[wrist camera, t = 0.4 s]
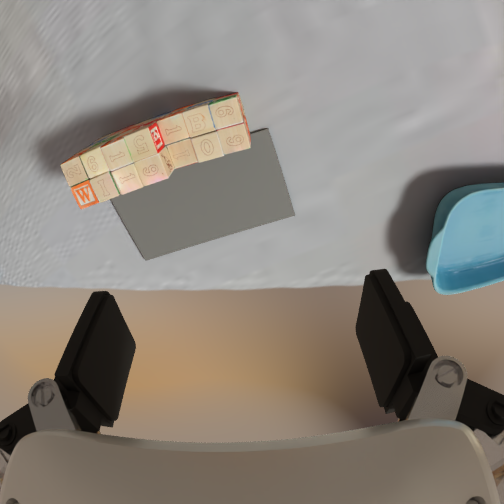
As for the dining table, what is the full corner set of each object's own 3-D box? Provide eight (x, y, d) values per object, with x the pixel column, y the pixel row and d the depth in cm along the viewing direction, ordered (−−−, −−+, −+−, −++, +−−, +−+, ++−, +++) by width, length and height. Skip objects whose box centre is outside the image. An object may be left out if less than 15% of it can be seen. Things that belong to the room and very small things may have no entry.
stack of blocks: (239, 90, 37) (236, 99, 27) (250, 132, 41) (252, 157, 30) (99, 138, 40) (58, 165, 29) (114, 174, 43) (79, 211, 33)
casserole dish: (405, 282, 57) (419, 307, 51) (416, 178, 44) (438, 196, 38) (523, 253, 54) (538, 270, 48) (543, 169, 41) (564, 183, 36)
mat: (107, 189, 44) (106, 190, 44) (268, 128, 40) (268, 128, 40) (146, 259, 52) (145, 260, 51) (294, 213, 48) (295, 215, 47)
